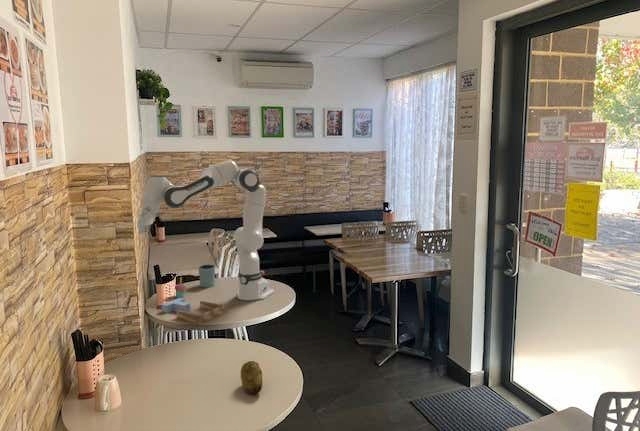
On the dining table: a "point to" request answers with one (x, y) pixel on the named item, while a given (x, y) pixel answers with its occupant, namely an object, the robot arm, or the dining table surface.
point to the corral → (214, 311)
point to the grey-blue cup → (207, 275)
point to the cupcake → (180, 289)
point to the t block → (176, 306)
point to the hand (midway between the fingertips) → (142, 233)
